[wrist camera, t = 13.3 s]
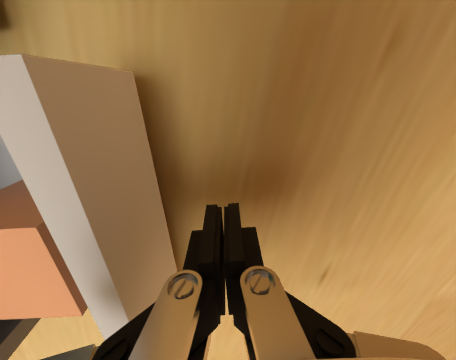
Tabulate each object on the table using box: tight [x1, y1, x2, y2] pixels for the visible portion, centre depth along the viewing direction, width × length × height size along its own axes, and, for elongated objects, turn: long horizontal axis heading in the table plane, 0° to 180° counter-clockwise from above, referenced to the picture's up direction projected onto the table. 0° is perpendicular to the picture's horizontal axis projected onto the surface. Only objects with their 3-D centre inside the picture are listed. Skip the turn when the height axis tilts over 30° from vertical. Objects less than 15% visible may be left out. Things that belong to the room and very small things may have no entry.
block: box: [0, 179, 88, 320], centre depth 11 cm, size 5×5×5 cm
